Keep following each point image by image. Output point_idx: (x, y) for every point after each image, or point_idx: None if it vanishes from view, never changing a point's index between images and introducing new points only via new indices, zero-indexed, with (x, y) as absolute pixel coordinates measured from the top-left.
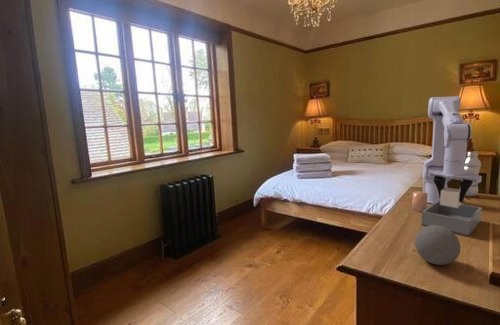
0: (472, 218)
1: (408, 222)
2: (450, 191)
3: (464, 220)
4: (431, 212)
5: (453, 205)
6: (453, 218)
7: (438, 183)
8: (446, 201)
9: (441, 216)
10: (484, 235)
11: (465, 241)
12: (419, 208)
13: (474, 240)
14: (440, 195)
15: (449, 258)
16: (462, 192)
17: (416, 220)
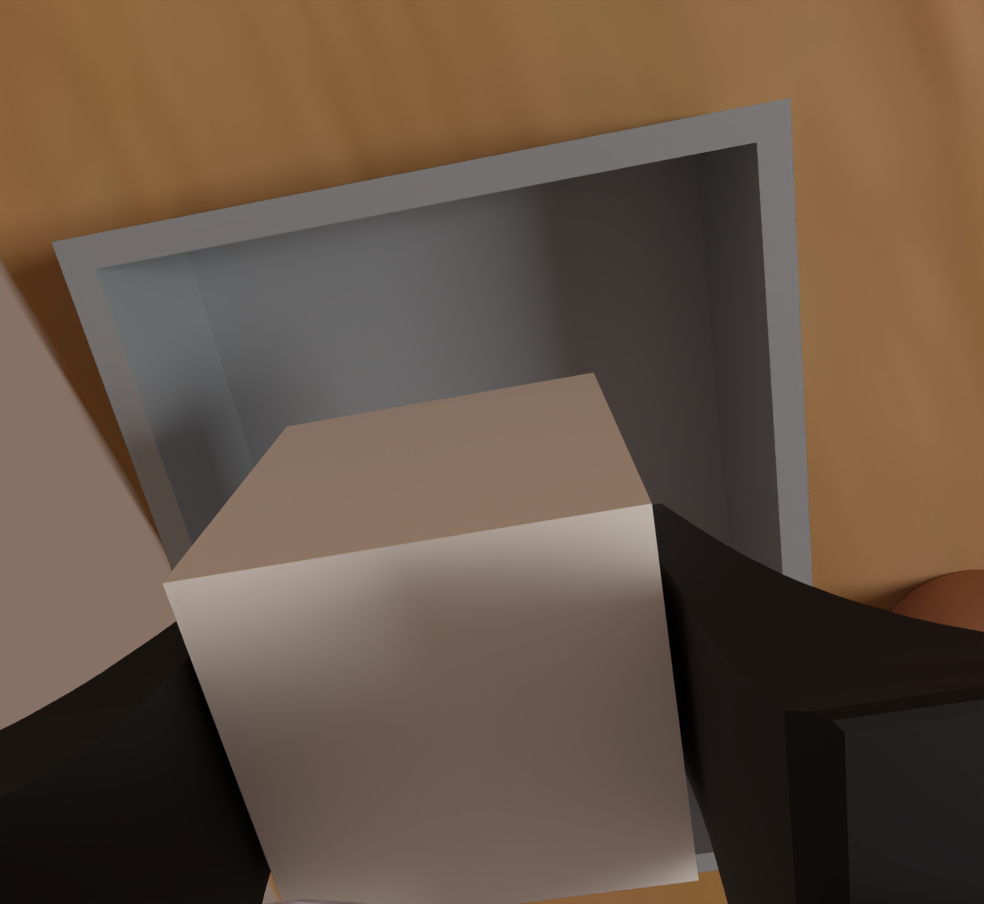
0: (126, 439)
1: (893, 71)
2: (413, 606)
3: (120, 234)
4: (745, 478)
5: (346, 425)
6: (274, 199)
7: (848, 657)
8: (476, 426)
9: (457, 164)
10: (99, 420)
11: (90, 32)
12: (959, 607)
13: (61, 167)
14: (659, 524)
15: None
16: (113, 682)
17: (838, 252)
